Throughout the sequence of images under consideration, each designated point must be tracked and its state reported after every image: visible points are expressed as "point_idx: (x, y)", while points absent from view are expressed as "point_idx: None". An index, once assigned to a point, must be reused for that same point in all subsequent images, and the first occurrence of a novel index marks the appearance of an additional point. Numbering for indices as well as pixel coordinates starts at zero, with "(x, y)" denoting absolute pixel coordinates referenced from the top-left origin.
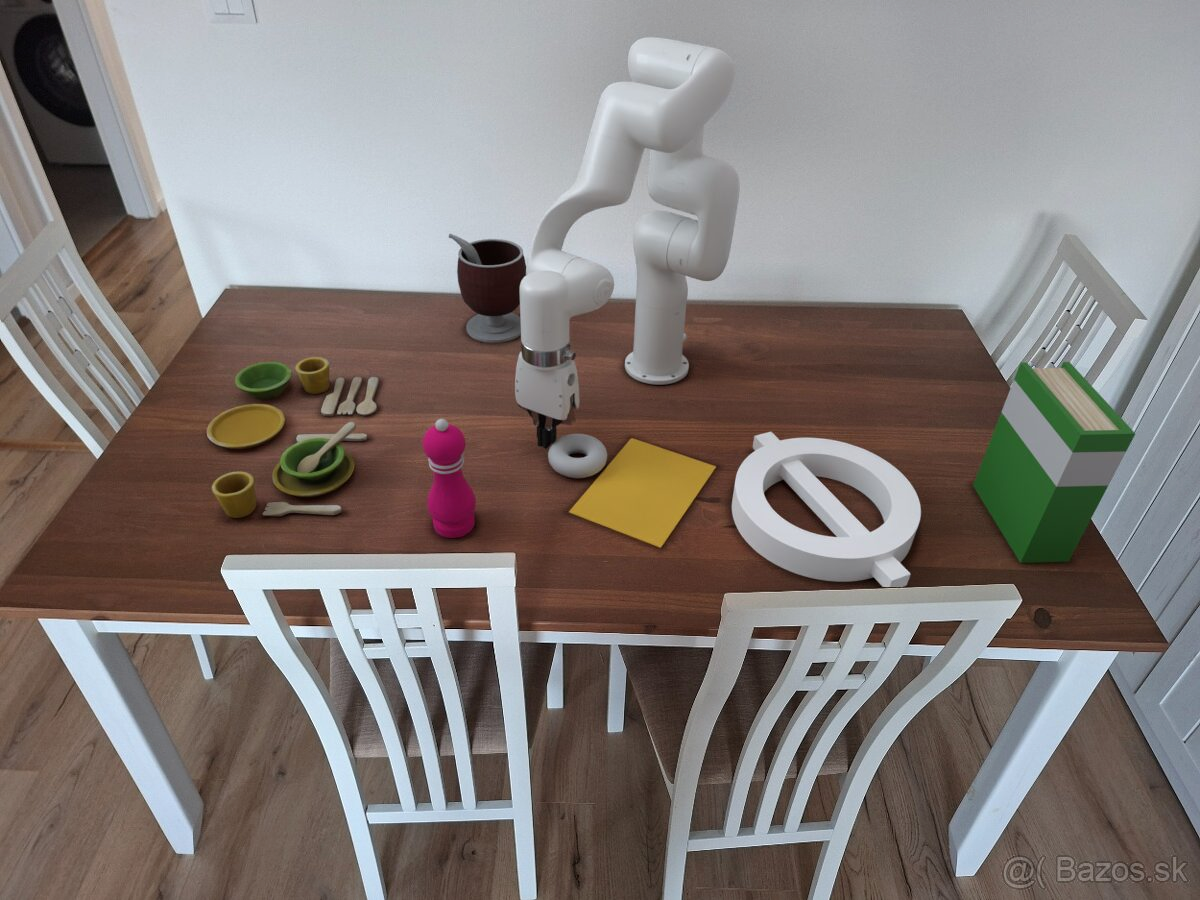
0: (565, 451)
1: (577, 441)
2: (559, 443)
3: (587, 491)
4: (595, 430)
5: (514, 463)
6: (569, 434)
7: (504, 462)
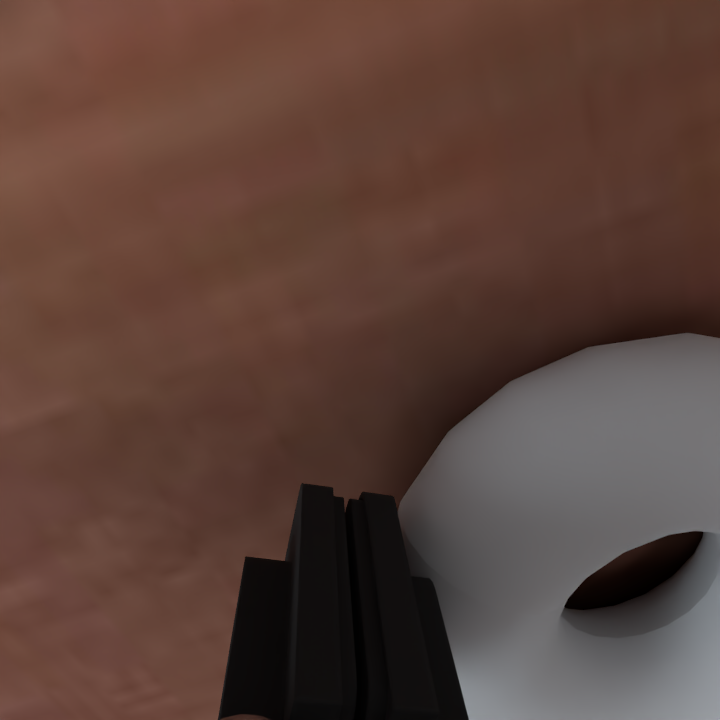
0: (558, 664)
1: (656, 538)
2: (497, 658)
3: None
4: (704, 5)
5: (157, 653)
6: (555, 481)
7: (86, 666)
